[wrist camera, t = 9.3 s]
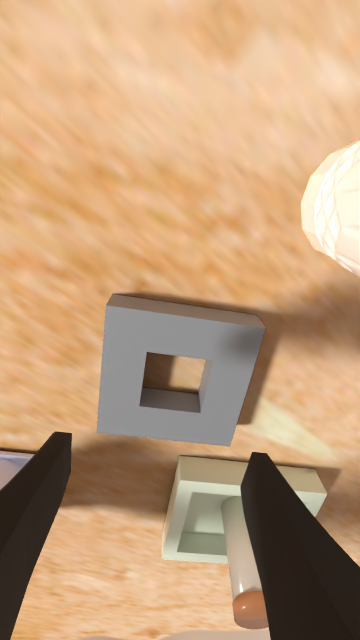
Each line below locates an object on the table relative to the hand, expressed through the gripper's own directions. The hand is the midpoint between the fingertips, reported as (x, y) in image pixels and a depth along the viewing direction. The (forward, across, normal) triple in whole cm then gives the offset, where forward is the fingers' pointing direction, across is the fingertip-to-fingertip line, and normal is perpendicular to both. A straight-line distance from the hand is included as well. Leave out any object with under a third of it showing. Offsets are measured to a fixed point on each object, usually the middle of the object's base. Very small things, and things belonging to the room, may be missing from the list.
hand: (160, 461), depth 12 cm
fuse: (+10, -9, +16) cm, 21 cm away
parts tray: (+10, -9, +16) cm, 21 cm away
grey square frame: (+10, -1, +2) cm, 11 cm away
